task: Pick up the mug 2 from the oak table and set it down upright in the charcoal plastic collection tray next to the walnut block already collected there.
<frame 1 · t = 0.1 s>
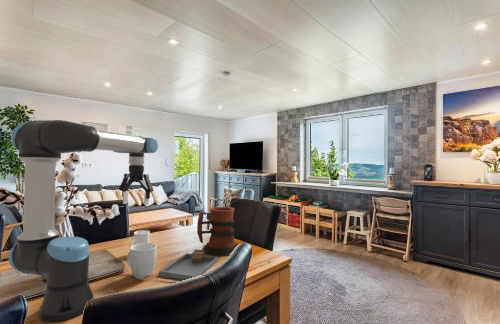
hand: (135, 204, 140), 28 cm above the table, fingers open, 13 cm apart
walnut block: (198, 261, 130), point 1 cm above the table, touching tray
tray: (190, 269, 123), on the table
mug 2: (141, 275, 116), on the table
tankard: (219, 252, 149), on the table
mug: (138, 254, 142), on the table
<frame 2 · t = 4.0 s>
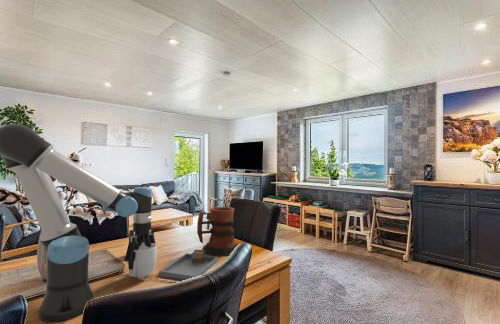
hand: (141, 270, 116), 2 cm above the table, fingers closed on mug 2, 11 cm apart
mug 2: (141, 275, 116), on the table, touching gripper
everything else where it was.
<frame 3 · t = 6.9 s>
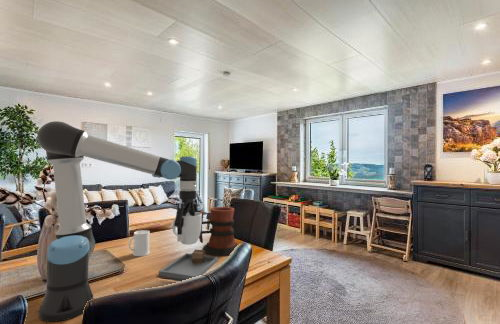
hand: (187, 237, 119), 16 cm above the table, fingers closed on mug 2, 11 cm apart
mug 2: (187, 242, 119), point 14 cm above the table, touching gripper
everything else where it was.
when the fingers open (5 cm above the table, at t = 9.8 s): mug 2 drops 2 cm, resting on tray.
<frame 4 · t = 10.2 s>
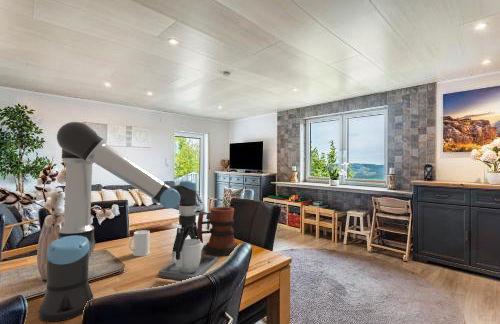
hand: (186, 260, 119), 6 cm above the table, fingers open, 13 cm apart
mug 2: (186, 270, 119), point 1 cm above the table, touching tray
everything else where it was.
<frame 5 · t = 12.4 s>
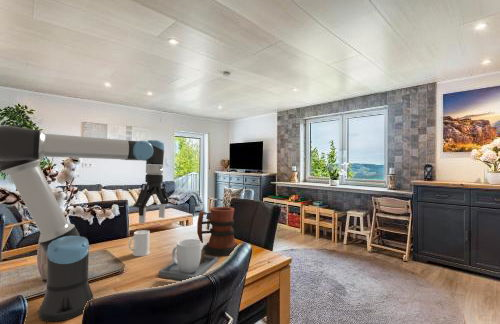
hand: (152, 220, 119), 24 cm above the table, fingers open, 13 cm apart
nothing on the table moved.
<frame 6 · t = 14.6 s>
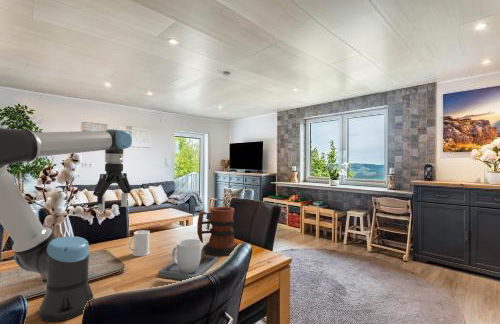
hand: (113, 208, 120), 29 cm above the table, fingers open, 13 cm apart
nothing on the table moved.
at the end: mug 2 inside the target area on the tray (3.8 cm from its centre), point 1.0 cm above the tray's base; mug 2 tilted 0°; the gripper is holding nothing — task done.
